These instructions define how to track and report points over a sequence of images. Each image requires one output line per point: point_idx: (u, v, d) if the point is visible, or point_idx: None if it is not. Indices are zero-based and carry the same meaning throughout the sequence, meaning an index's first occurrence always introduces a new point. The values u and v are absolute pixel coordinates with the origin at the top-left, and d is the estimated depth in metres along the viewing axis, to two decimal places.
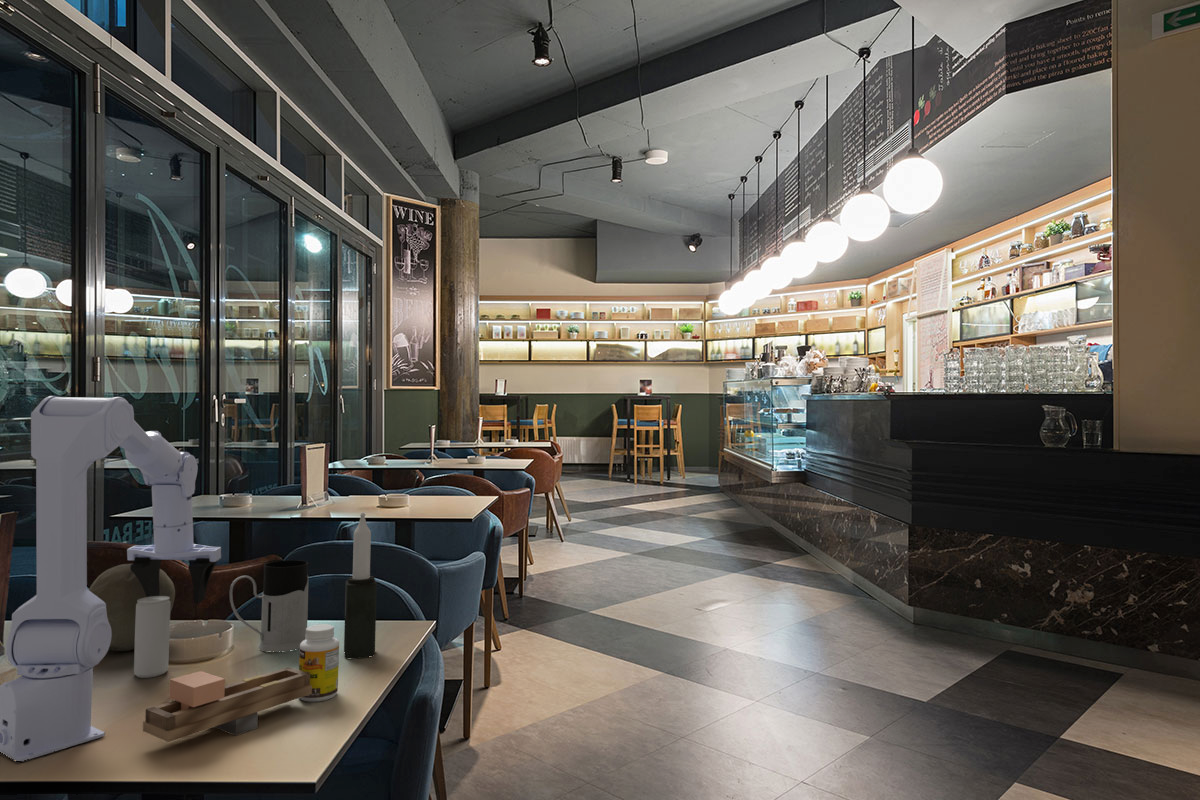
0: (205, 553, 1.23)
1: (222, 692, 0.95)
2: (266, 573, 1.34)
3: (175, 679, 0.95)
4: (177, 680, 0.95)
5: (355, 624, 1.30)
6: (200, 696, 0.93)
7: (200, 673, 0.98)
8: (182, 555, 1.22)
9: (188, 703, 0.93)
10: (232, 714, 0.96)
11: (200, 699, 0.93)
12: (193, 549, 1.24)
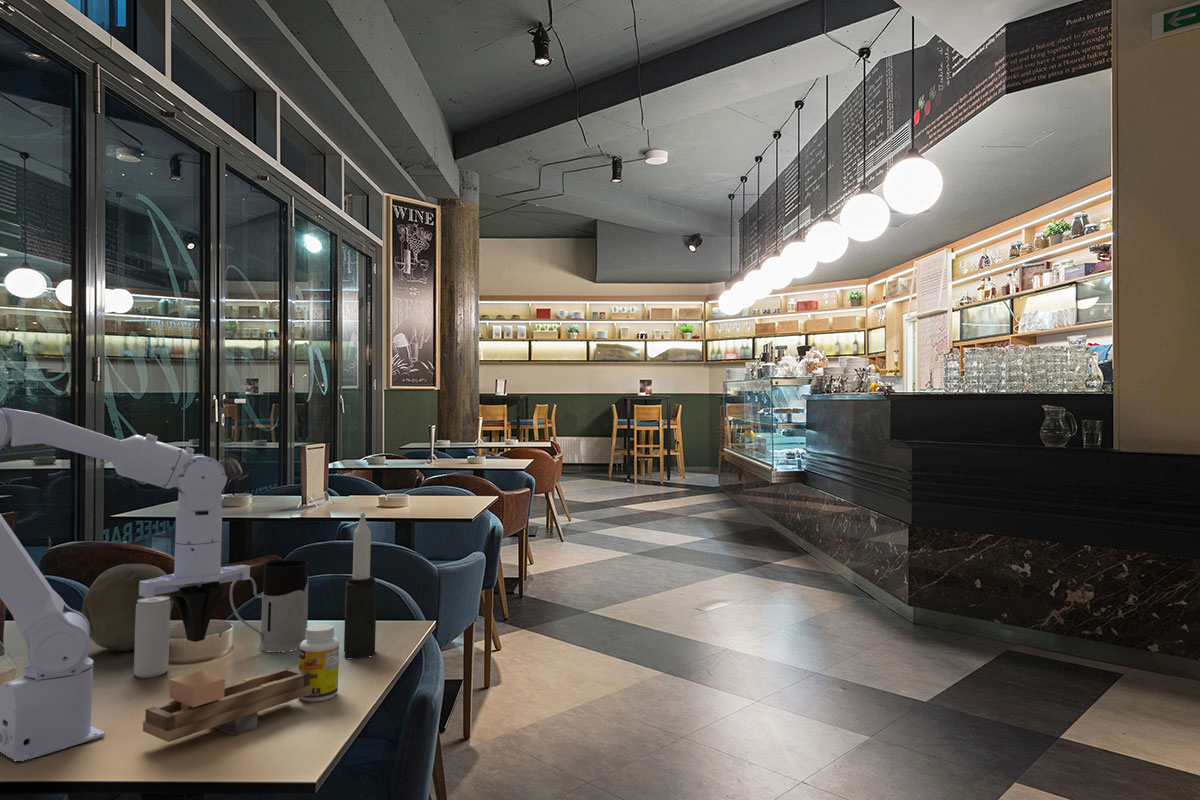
0: None
1: (222, 692, 0.95)
2: (266, 573, 1.34)
3: (175, 679, 0.95)
4: (177, 680, 0.95)
5: (355, 624, 1.30)
6: (200, 696, 0.93)
7: (200, 673, 0.98)
8: (169, 578, 1.03)
9: (188, 703, 0.93)
10: (232, 714, 0.96)
11: (200, 699, 0.93)
12: None
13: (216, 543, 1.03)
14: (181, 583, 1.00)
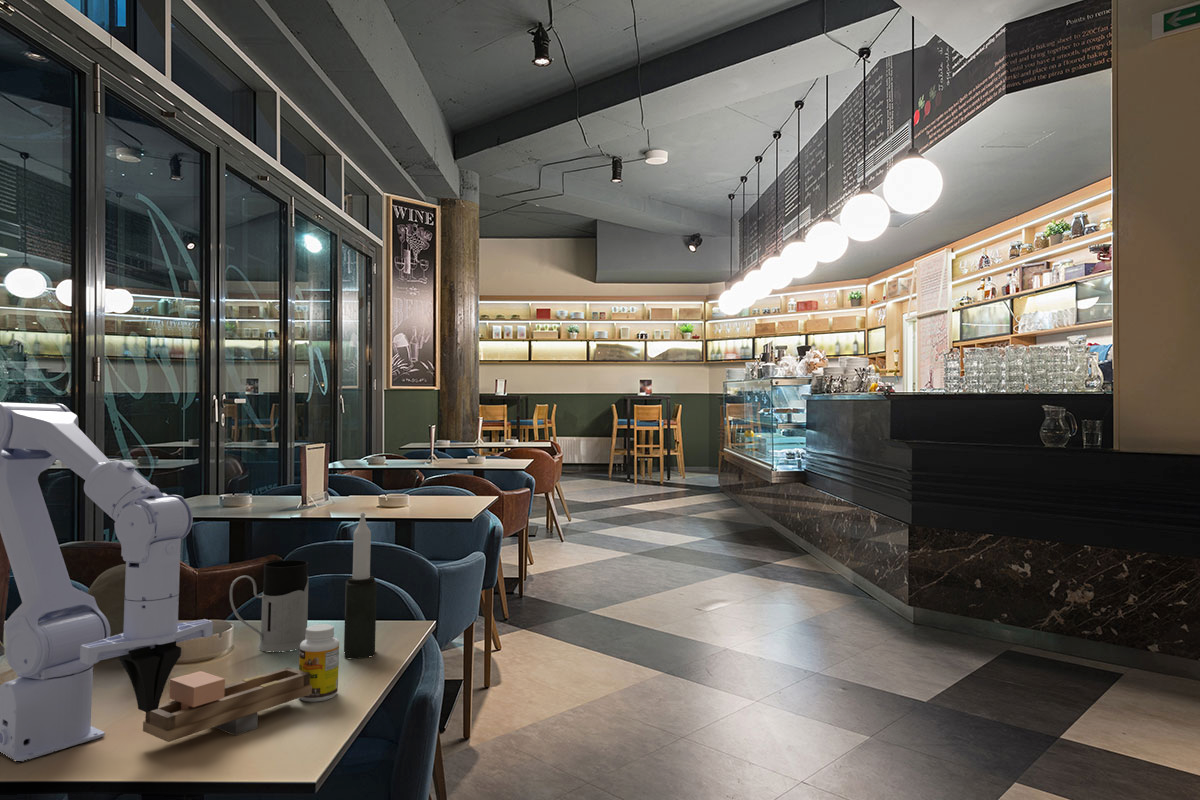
0: None
1: (222, 692, 0.95)
2: (266, 573, 1.34)
3: (175, 679, 0.95)
4: (177, 680, 0.95)
5: (355, 624, 1.30)
6: (200, 696, 0.93)
7: (200, 673, 0.98)
8: (118, 638, 0.90)
9: (188, 703, 0.93)
10: (232, 714, 0.96)
11: (200, 699, 0.93)
12: None
13: (172, 598, 0.90)
14: (130, 646, 0.87)
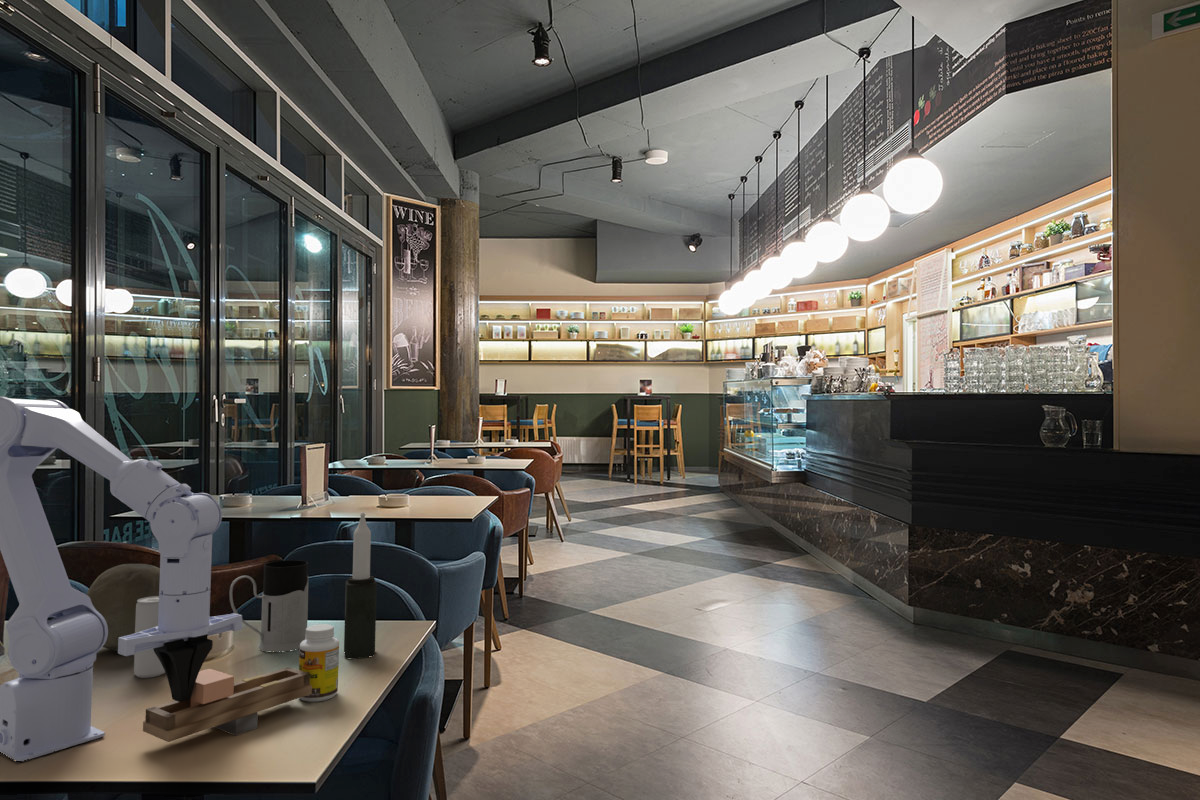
0: None
1: (231, 689, 0.96)
2: (266, 573, 1.34)
3: None
4: None
5: (355, 624, 1.30)
6: (209, 693, 0.94)
7: (209, 671, 0.99)
8: (152, 631, 0.93)
9: (198, 700, 0.94)
10: (232, 714, 0.96)
11: (210, 696, 0.94)
12: None
13: (204, 593, 0.94)
14: (165, 639, 0.90)
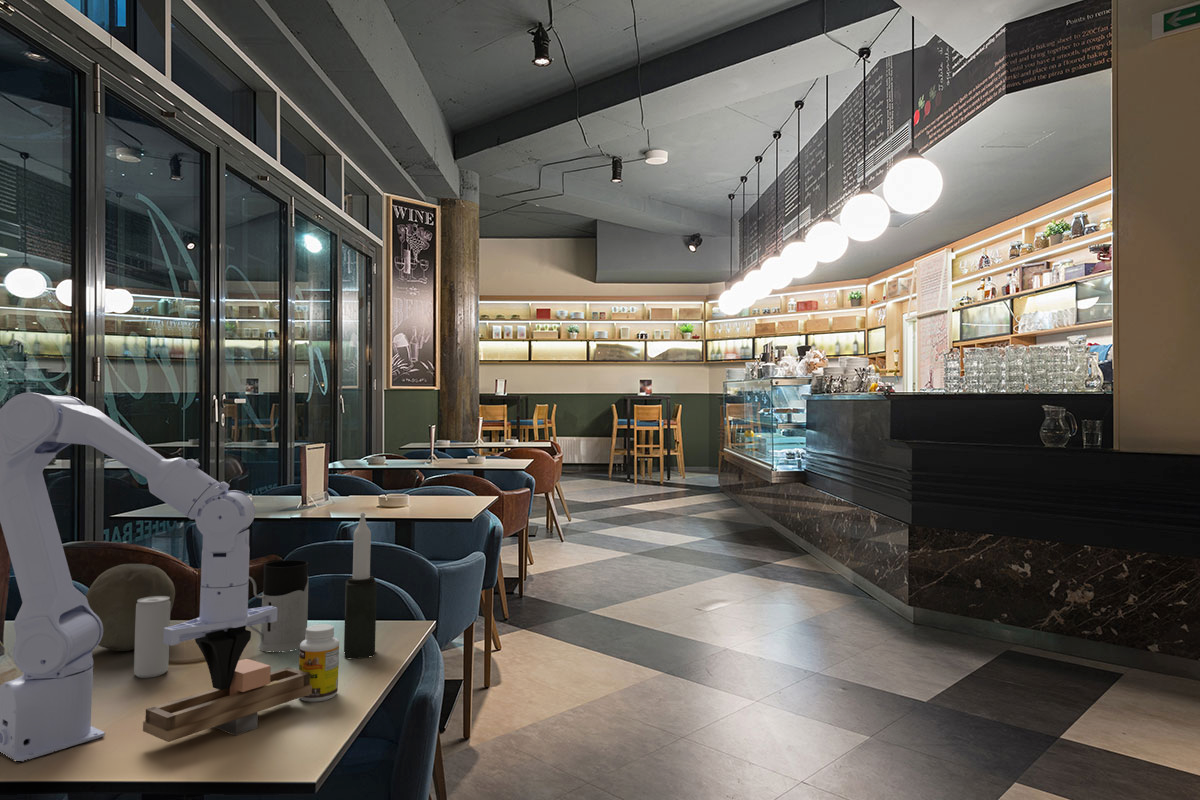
0: None
1: (268, 678, 1.01)
2: (266, 573, 1.34)
3: None
4: None
5: (355, 624, 1.30)
6: (248, 682, 0.98)
7: (246, 660, 1.03)
8: (194, 622, 0.98)
9: (237, 688, 0.98)
10: (232, 714, 0.96)
11: (248, 684, 0.98)
12: None
13: (243, 586, 0.98)
14: (207, 629, 0.95)
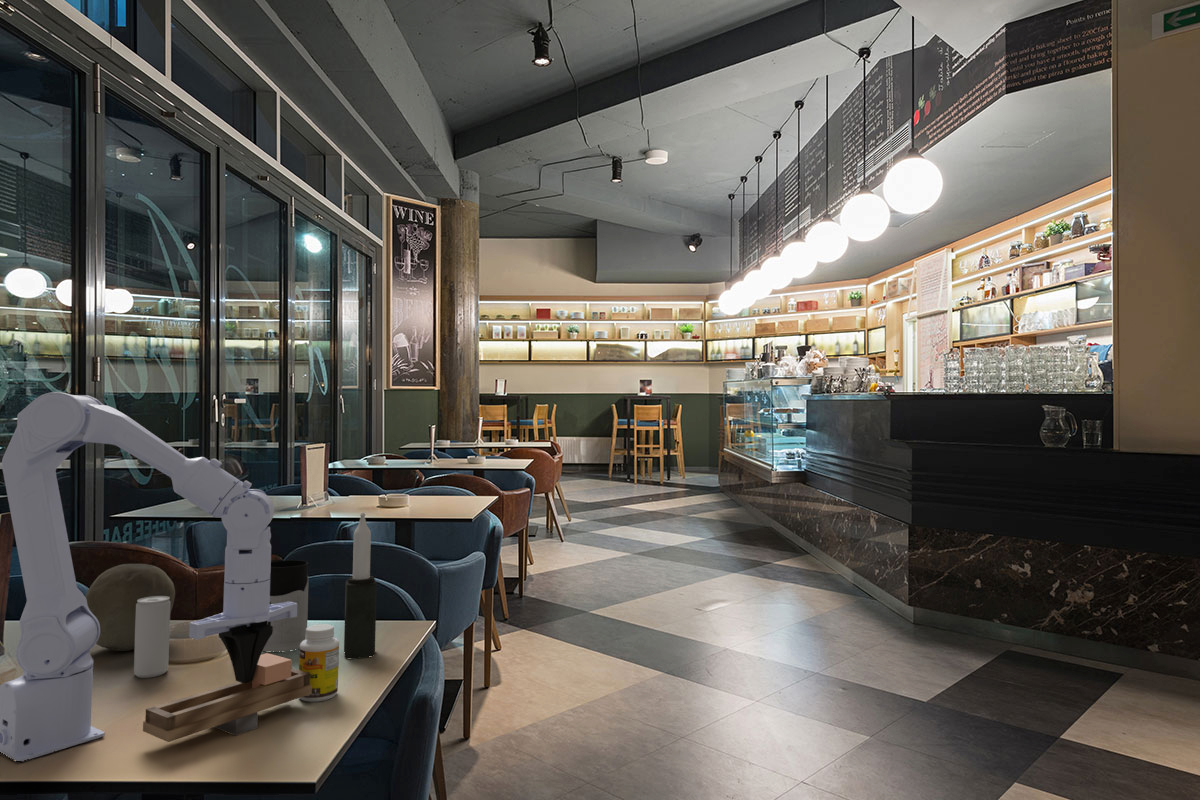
0: None
1: (289, 672, 1.04)
2: None
3: None
4: None
5: (355, 624, 1.30)
6: (270, 675, 1.01)
7: (268, 655, 1.06)
8: (218, 617, 1.00)
9: (259, 681, 1.01)
10: (232, 714, 0.96)
11: (270, 678, 1.01)
12: None
13: (266, 582, 1.01)
14: (231, 624, 0.97)
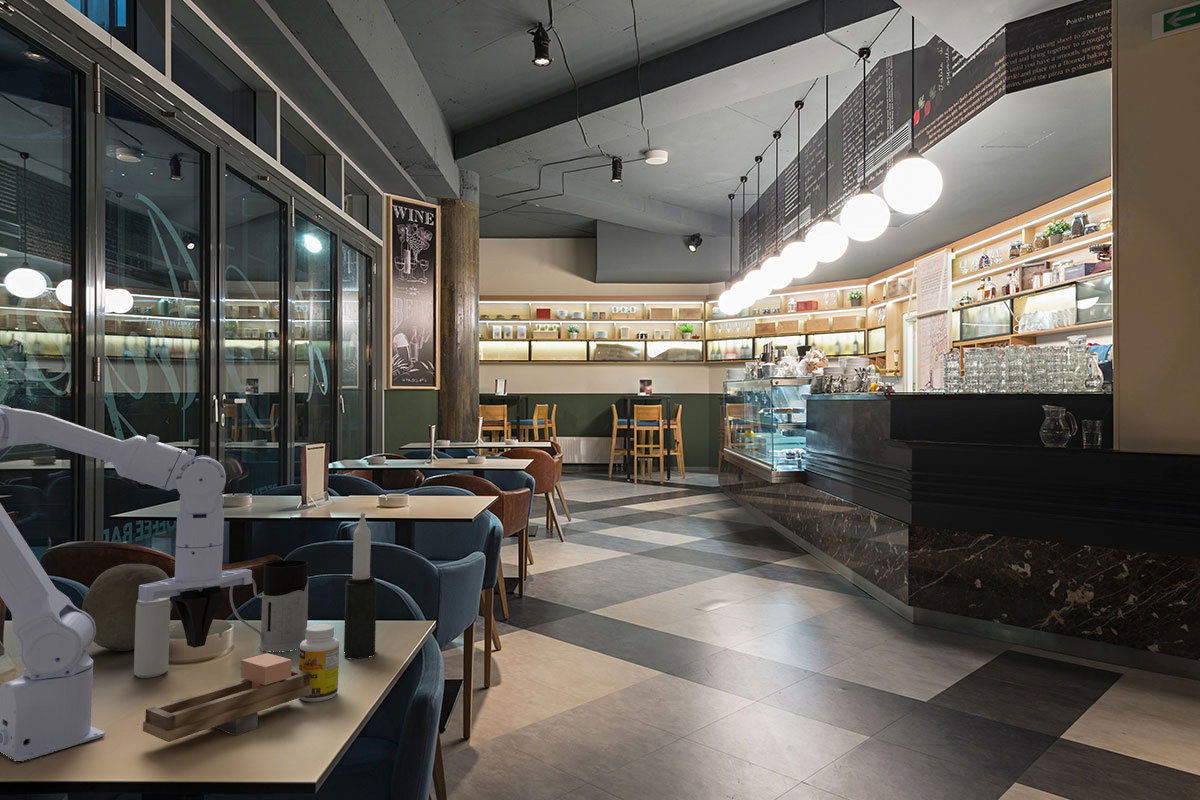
0: None
1: (289, 672, 1.04)
2: (266, 573, 1.34)
3: (246, 660, 1.03)
4: (248, 660, 1.03)
5: (355, 624, 1.30)
6: (270, 675, 1.01)
7: (268, 655, 1.06)
8: (170, 582, 1.01)
9: (260, 681, 1.01)
10: (232, 714, 0.96)
11: (270, 678, 1.01)
12: None
13: (217, 547, 1.01)
14: (181, 587, 0.98)
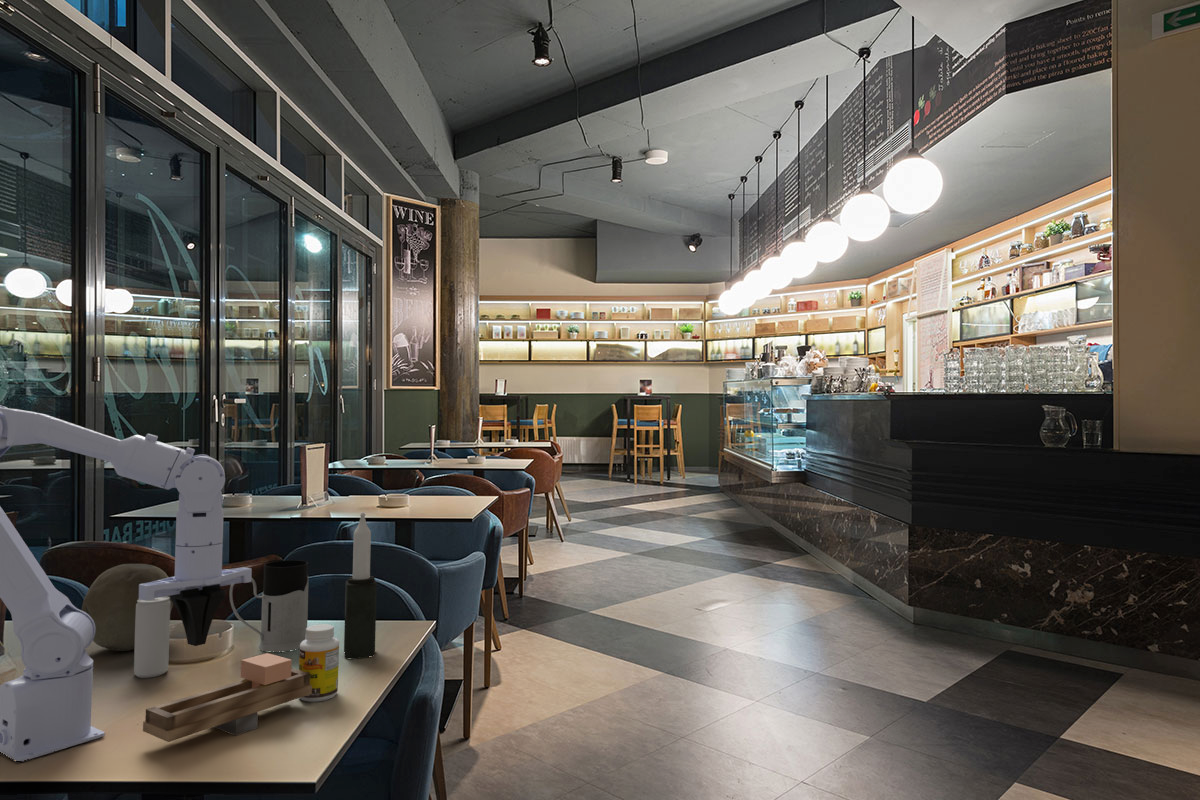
0: None
1: (289, 672, 1.04)
2: (266, 573, 1.34)
3: (246, 660, 1.03)
4: (248, 660, 1.03)
5: (355, 624, 1.30)
6: (270, 675, 1.01)
7: (268, 655, 1.06)
8: (169, 580, 1.01)
9: (260, 681, 1.01)
10: (232, 714, 0.96)
11: (270, 678, 1.01)
12: None
13: (217, 545, 1.01)
14: (182, 586, 0.98)
